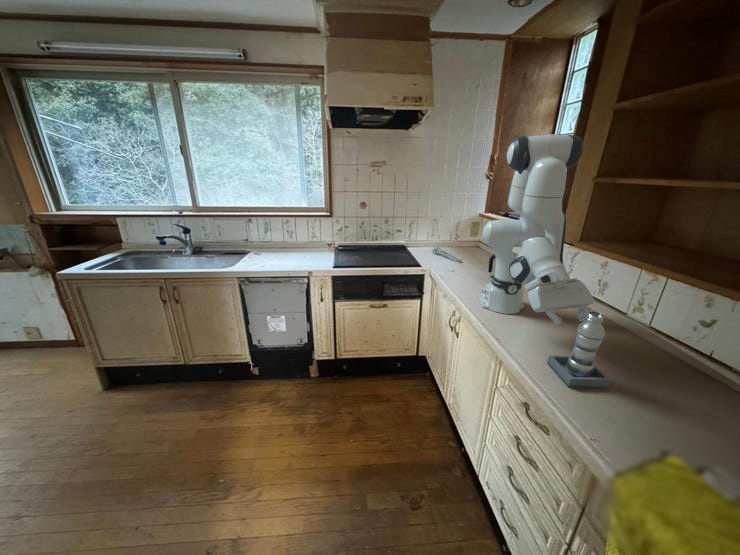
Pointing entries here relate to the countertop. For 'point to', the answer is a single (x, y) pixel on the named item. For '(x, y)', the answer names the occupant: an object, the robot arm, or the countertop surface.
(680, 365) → the countertop surface
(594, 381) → the holder
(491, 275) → the milk frother
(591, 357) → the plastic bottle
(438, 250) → the wrench
